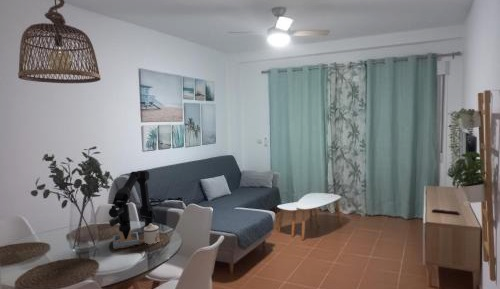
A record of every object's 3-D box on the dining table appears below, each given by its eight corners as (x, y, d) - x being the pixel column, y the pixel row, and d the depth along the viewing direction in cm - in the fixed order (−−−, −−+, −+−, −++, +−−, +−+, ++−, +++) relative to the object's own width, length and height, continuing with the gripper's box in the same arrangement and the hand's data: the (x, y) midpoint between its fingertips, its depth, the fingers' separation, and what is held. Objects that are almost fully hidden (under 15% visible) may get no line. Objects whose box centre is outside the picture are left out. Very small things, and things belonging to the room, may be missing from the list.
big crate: (114, 241, 206) (113, 235, 206) (138, 237, 211) (137, 231, 211) (113, 250, 193) (113, 244, 193) (139, 245, 198) (138, 239, 198)
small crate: (120, 238, 204) (119, 229, 203) (131, 237, 206) (130, 227, 205) (120, 242, 198) (119, 232, 197) (131, 240, 200) (130, 231, 199)
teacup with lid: (158, 244, 198) (157, 225, 197) (143, 246, 197) (141, 227, 196) (161, 237, 210) (160, 219, 209) (146, 238, 209) (145, 220, 208)
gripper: (109, 209, 206) (112, 234, 208) (108, 218, 188) (110, 245, 190) (129, 207, 210) (131, 231, 212) (129, 215, 192) (131, 242, 194)
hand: (125, 237), depth 202 cm, fingers closed on small crate, 6 cm apart
